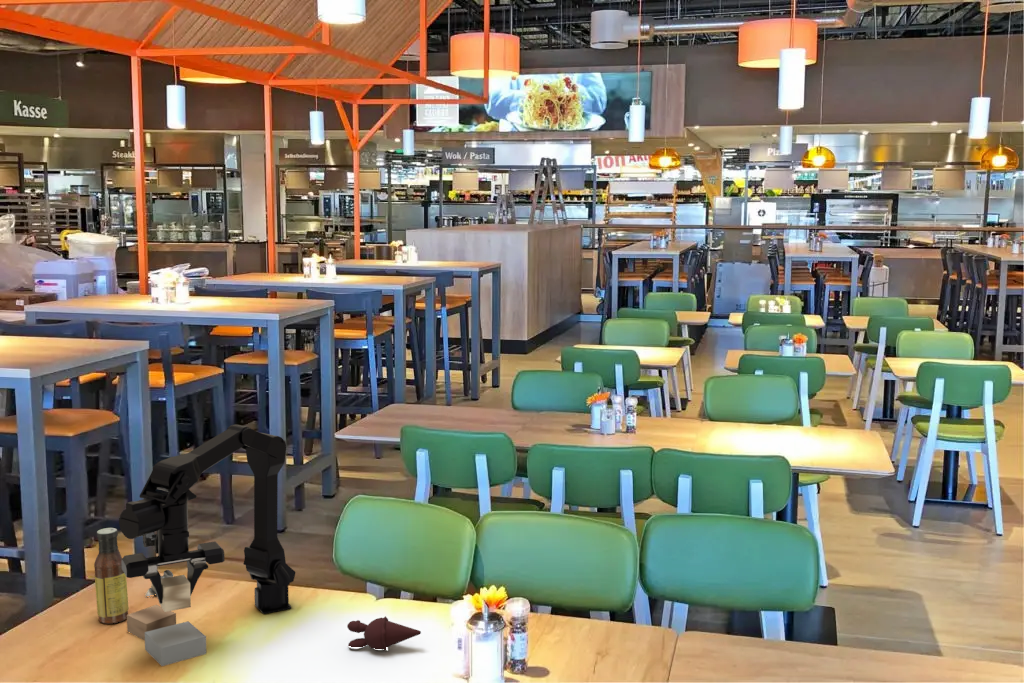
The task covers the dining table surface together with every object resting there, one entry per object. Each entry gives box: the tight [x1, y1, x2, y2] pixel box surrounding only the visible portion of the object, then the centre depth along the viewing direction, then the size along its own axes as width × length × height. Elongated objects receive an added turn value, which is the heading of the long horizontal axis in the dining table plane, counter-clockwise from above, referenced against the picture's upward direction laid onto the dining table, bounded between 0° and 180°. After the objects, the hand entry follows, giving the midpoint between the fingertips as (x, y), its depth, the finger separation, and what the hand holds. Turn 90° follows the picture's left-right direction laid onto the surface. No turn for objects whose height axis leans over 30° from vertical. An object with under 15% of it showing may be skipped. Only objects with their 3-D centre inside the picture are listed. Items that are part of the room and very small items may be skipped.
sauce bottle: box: [93, 527, 129, 625], centre depth 214 cm, size 7×6×20 cm
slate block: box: [144, 621, 207, 667], centre depth 201 cm, size 9×9×4 cm
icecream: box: [347, 616, 422, 651], centre depth 204 cm, size 7×7×15 cm
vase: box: [145, 569, 174, 597], centre depth 229 cm, size 5×5×6 cm
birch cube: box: [158, 574, 192, 612], centre depth 199 cm, size 5×5×5 cm
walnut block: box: [126, 604, 177, 641], centre depth 210 cm, size 7×7×4 cm
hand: (174, 600), depth 200 cm, fingers closed on birch cube, 5 cm apart
